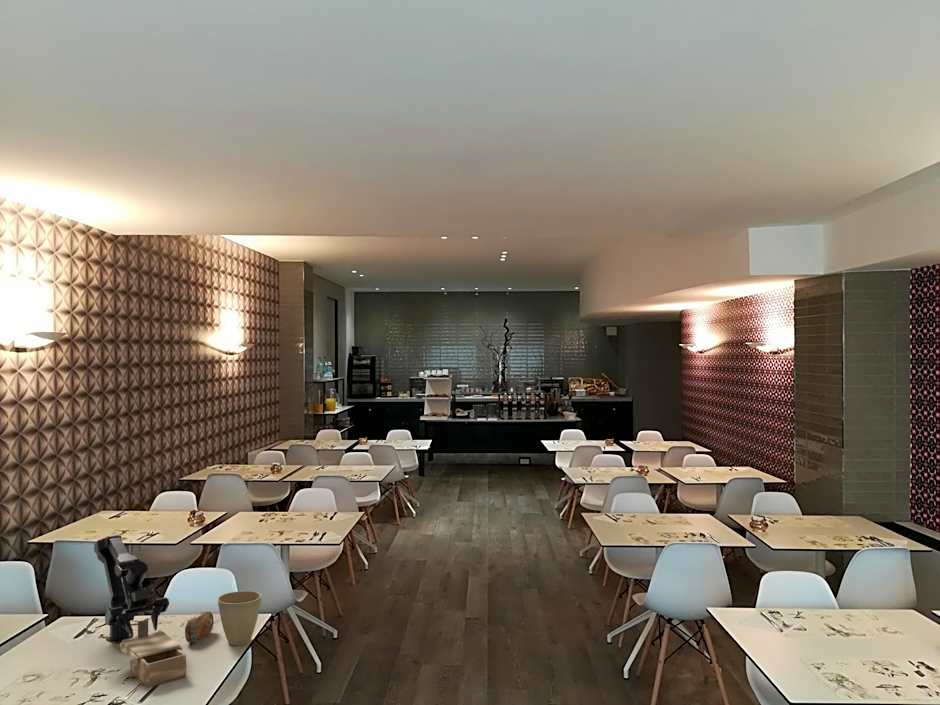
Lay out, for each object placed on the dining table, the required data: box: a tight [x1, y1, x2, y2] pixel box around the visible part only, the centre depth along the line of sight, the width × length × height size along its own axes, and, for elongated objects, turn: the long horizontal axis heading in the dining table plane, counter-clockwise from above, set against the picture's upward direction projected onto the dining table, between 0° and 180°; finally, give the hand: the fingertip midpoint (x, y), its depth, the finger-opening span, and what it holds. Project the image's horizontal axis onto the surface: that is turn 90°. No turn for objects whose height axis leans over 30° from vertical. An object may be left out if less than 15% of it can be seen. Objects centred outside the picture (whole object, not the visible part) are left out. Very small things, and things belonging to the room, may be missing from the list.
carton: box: [129, 648, 187, 689], centre depth 236 cm, size 16×12×7 cm
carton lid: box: [119, 619, 183, 665], centre depth 241 cm, size 17×14×8 cm
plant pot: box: [217, 590, 262, 646], centre depth 263 cm, size 15×15×16 cm
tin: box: [184, 611, 215, 644], centre depth 266 cm, size 15×3×8 cm, turn 168°
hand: (144, 632), depth 246 cm, fingers open, 7 cm apart
